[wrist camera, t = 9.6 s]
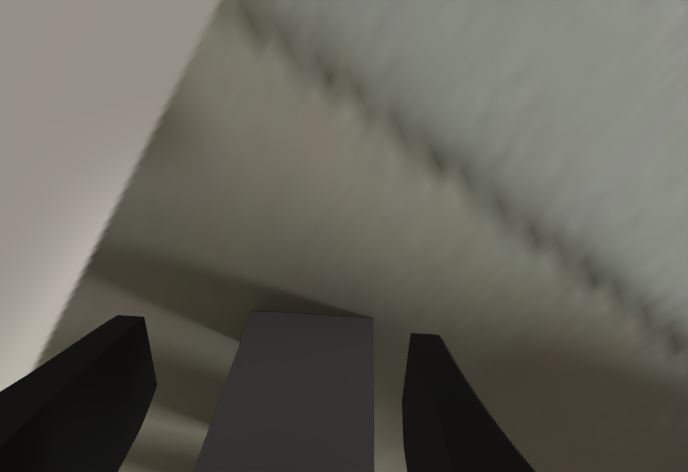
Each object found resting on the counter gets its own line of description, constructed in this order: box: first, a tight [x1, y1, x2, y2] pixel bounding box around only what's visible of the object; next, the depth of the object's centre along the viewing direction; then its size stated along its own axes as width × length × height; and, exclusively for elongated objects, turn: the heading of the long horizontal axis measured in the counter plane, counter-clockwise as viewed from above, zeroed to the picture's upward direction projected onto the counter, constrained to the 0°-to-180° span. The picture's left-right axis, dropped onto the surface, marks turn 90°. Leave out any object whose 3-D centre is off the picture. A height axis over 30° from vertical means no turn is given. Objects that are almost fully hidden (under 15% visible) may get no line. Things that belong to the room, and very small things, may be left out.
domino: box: [193, 311, 374, 472], centre depth 16 cm, size 2×5×9 cm, turn 87°
